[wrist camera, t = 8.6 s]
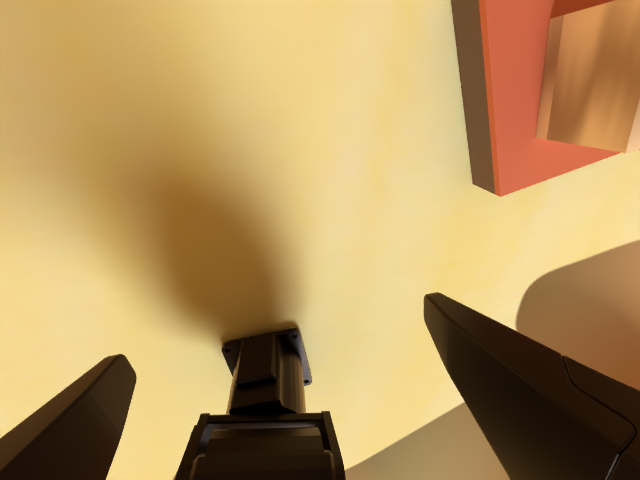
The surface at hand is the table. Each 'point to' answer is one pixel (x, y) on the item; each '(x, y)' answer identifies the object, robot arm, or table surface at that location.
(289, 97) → the table surface
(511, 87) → the red square block
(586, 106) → the masu
